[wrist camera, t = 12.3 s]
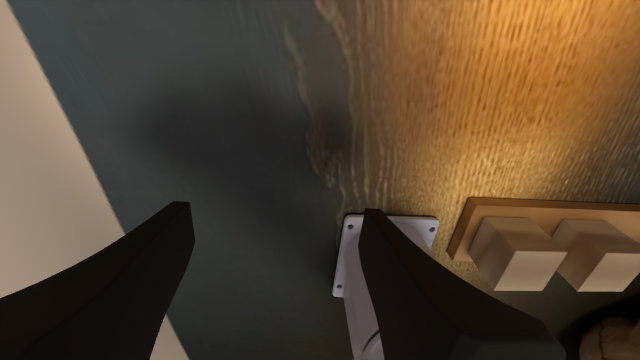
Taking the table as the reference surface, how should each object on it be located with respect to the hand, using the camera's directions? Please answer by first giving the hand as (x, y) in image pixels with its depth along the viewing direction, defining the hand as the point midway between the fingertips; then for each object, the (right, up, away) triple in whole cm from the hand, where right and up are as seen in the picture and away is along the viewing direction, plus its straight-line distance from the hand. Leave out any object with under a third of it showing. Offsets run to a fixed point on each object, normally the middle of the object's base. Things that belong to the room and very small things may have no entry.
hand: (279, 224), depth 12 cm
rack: (+24, -3, +14) cm, 28 cm away
